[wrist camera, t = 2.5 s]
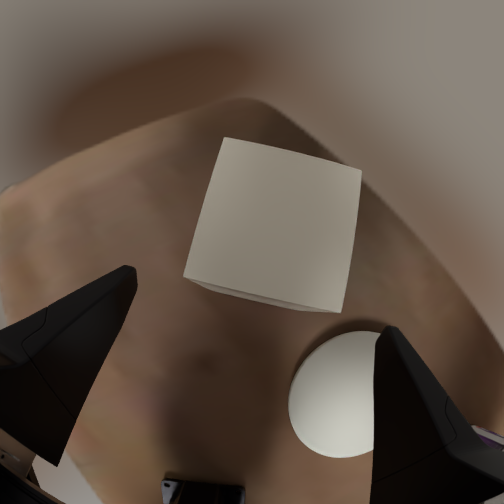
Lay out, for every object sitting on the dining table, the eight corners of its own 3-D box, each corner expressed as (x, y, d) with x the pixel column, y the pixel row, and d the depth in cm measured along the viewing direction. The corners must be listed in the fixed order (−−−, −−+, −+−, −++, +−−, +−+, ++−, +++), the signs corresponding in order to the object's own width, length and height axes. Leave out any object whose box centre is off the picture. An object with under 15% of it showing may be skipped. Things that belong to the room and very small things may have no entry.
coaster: (401, 442, 18) (405, 446, 17) (283, 457, 18) (284, 462, 17) (415, 327, 20) (421, 328, 19) (291, 331, 20) (293, 332, 19)
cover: (297, 310, 20) (340, 312, 11) (212, 290, 20) (183, 276, 11) (314, 227, 21) (362, 170, 12) (233, 208, 21) (224, 137, 12)
